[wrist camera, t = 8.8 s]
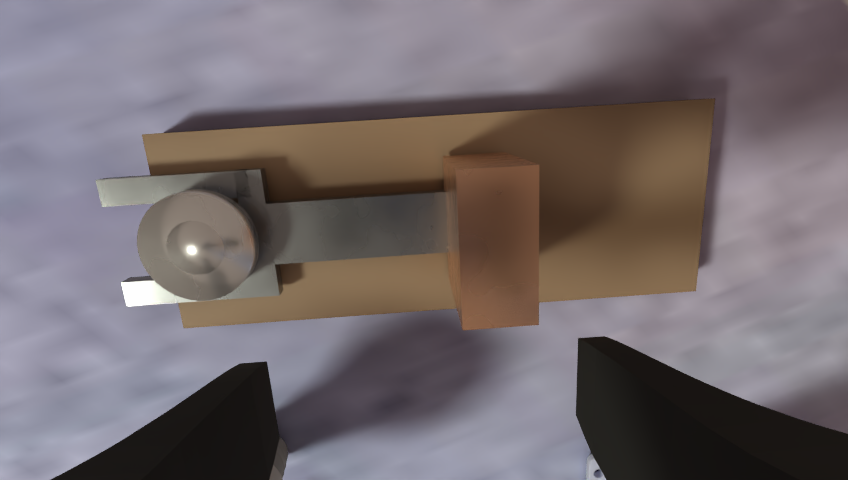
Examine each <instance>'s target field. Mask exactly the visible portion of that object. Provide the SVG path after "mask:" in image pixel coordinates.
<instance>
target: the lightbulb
mask: <svg viewBox="0 0 848 480" xmlns="http://www.w3.org/2000/svg"><path fill="white" fill-rule="evenodd" d="M279 438H280V439H279V443H278V447H277V451H276V456H275V460H274V464H273V468H272V472H271V475H270V479H269V480H283V479H282V477H283V475H284V470H285V467H286V461H287V457H288V449H287V446H286V444H285V442H284V441H283V440H282V439H281V437H280V436H279Z"/></svg>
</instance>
